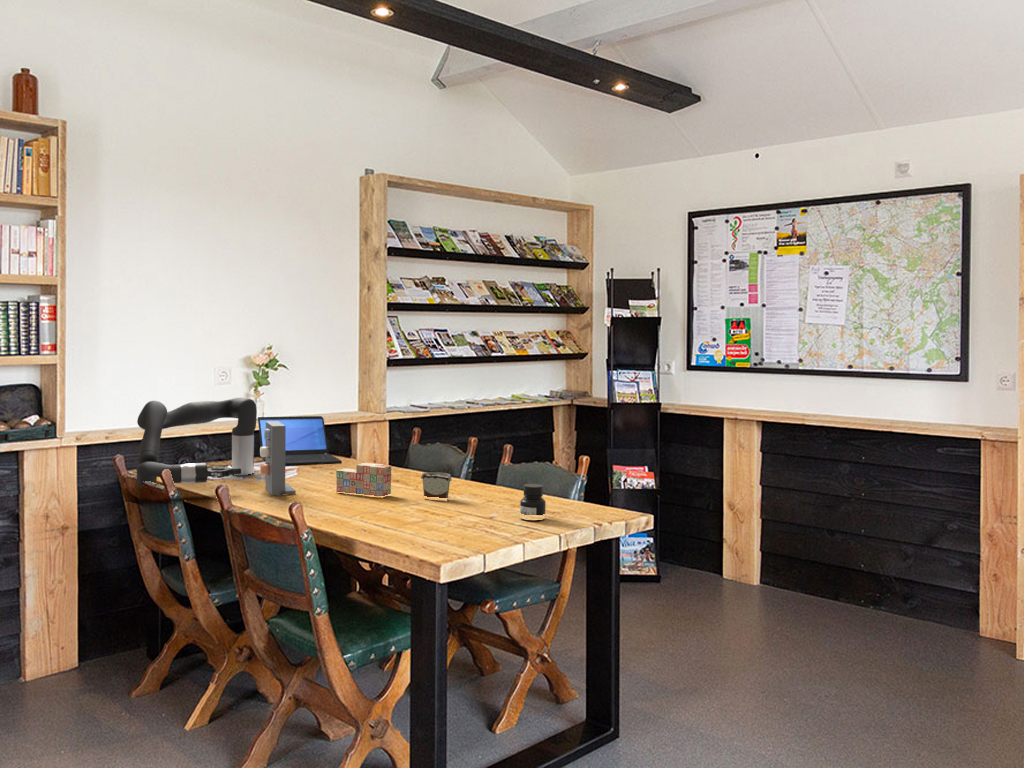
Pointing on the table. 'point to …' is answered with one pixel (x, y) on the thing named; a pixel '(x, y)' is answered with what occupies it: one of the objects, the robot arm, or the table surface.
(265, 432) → the slate button
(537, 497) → the ink bottle
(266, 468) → the terracotta button
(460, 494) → the table surface
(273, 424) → the grey upright post stand
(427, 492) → the food container
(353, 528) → the table surface
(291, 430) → the laptop
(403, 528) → the table surface
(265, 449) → the cream button
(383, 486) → the stack of blocks
